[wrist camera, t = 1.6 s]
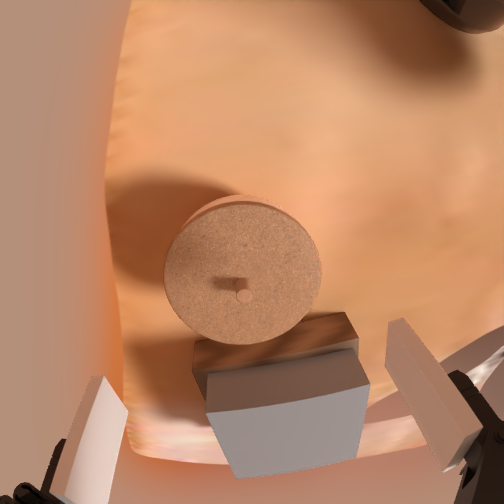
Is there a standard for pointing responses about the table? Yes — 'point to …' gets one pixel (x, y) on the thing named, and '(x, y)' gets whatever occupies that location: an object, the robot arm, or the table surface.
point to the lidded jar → (241, 271)
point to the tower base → (275, 347)
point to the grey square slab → (289, 413)
